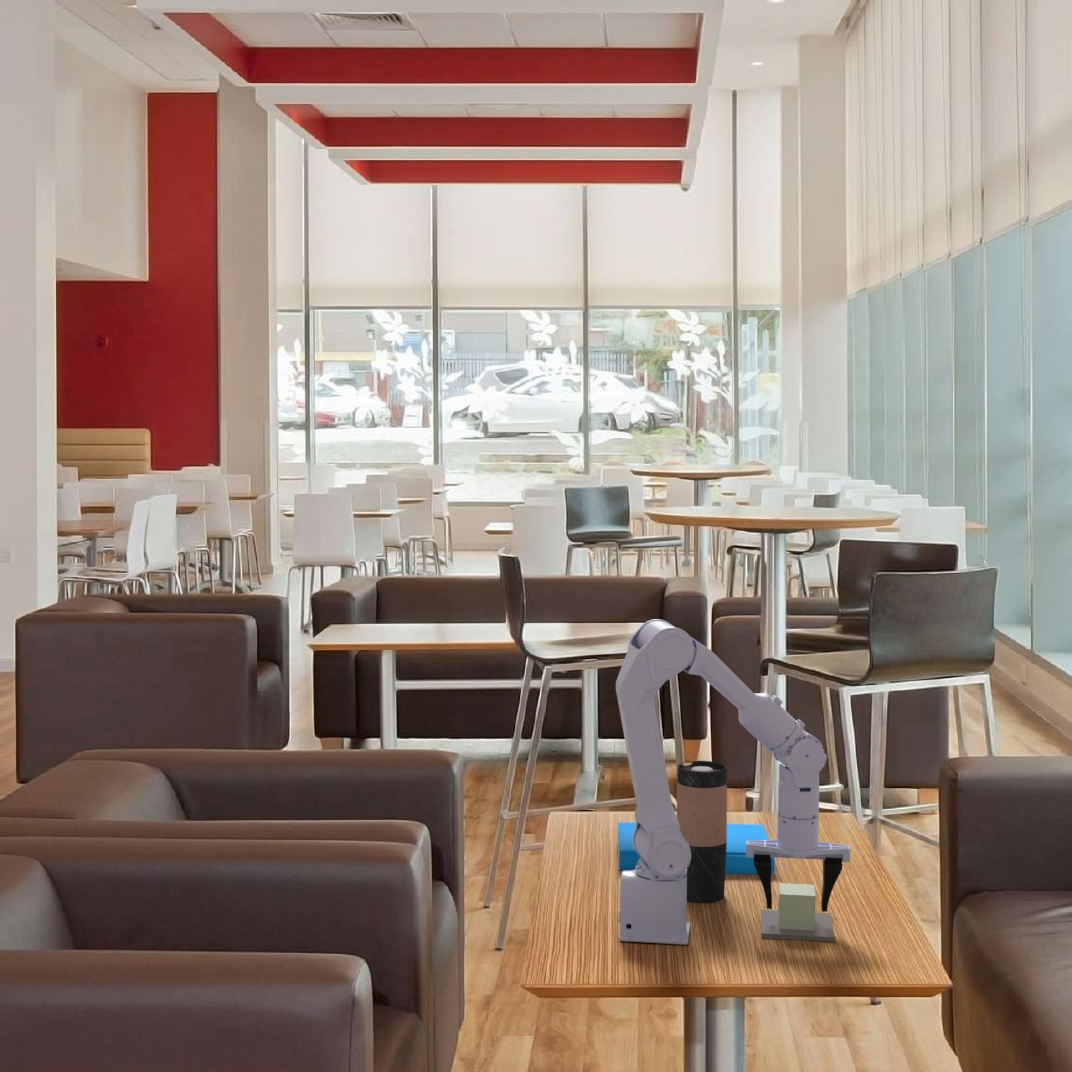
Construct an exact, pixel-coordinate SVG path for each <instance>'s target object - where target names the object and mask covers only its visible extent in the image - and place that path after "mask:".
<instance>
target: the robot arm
mask: <svg viewBox="0 0 1072 1072" xmlns="http://www.w3.org/2000/svg"><path fill="white" fill-rule="evenodd" d="M683 671H684V672H685V673H687V674H689V675H694V676H695V675H696V676H700V677H702V678H703V679H704V680H705V681H706V682H707V683H708V684H709V685H710V686H712V687H713V688H714V689H716V690H717V692H718V693H720V694H721V695H722V697H724V698H725V699H727V700H728V701H729V702H730V703H731V704H732V705H733V706H734V707H736V708H737V711H738V713H737V714H738V722H739V725H741V727H742V726H743V728H744V729H746V730H747V732H748V733H750V735H752V736H753V738H755V739H756V740H757V741H758V742H759V743H761V745H763V746H764V747H765V748H766V749H767V751H769V752H770V753H772V755H773V758H774V759H775V760H776V761H778V762H779V763H780V764H779V765H778V781H777V782H778V783H777V784H778V788H777V789H778V791H777V792H778V793H777V795H778V796H777V804H778V805H777V839H769V840H761V841H746V857H747V858H753V857H754V866H755V868H756V871H757V873H758V874H757V875H758V877H759V879H760V880H759V881H760V882H761V885H762V888H763V892H764V896H765V900H766V910H772V909H773V893H772V892H773V891H772V874H771V857H774V858H777V859H778V858H779V859H780V858H781V859H782V858H783V859H805V860H820V861H821V860H822V890H821V900H820V901H821V902H820V906H821V912H822V913H828V904H829V901H830V898H831V895H832V892H833V889H834V886H835V884H836V882H837V880H838V878H839V876H840V875H841V873H842V871H843V863H851V847H850V844H839V843H830V842H824V841H819V820H820V819H819V817H820V815H819V814H820V772H821V771H822V769H823V768H824V766H825V764H826V763H827V762H826V761H827V760H828V759H827V757H828V755H827V754H826V753H825V749H823V748H824V745H823V744H822V742H821V740H819V739H818V738H817V737H816V736H814V735H813V734H811V733H809V732H807V731H806V730H805V727H806V724H805V723H804V721H802V720H801V719H797V720H796V719H795V718H794V717H793V716H792V715H791V714H790V712H788V711H787V710H785V708H784V707H782V706H781V705H782V704H783V701H782V699H780V698H779V697H778V696H776V695H775V694H773V695H772V696H771V695H770V694H769V693H767V692H760V693H759V692H757V693H756V692H755V693H754V692H753V691H752V690H751V688H749V687H748V686H747V685H746V684H745V683H744V682H743V681H742V680H741V679H740V678H739V676H738V675H736V673H734V672H733V670H731V669H730V668H729V667H728V666H727V665H726V663H724V662H723V661H722V660H721V658H720V657H718V655H717V654H715V653H714V652H713V651H712V650H711V649H709V648H708V647H707V646H705V645H704V644H703V643H701V642H700V641H698V640H697V639H695V638H693V637H691V635H689V633H687V632H686V631H685V630H683V629H681V628H679V627H676V626H674V625H673V624H671V623H670V622H669V621H667V620H664V619H662V618H661V619H659V618H657V619H656V618H655V619H650V620H647V621H645V623H643V624H641V626H640V627H639V628H638V629H637V630H636V631H635V632H634V633H633V634H632V636H630V638H629V640H628V645H627V651H626V654H625V657H624V660H623V662H622V665H621V668H620V670H619V672H618V676H617V678H616V680H615V692H616V698H617V703H618V708H619V714H620V720H621V726H622V732H623V736H624V743H625V747H626V753H627V754H626V755H627V759H628V760H627V761H628V764H629V771H630V776H631V781H632V788H633V792H634V798H635V803H636V804H635V805H636V808H635V811H634V818H635V823H636V828H635V831H634V834H633V846H634V848H635V850H636V852H637V853H638V854H639V855H640V859H639V861H638V863H637V865H636V867H635V870H631V871H622V872H621V876H620V888H619V889H620V890H619V910H618V923H619V941H621V942H629V943H630V942H633V943H648V944H649V943H650V944H651V943H652V944H653V943H654V944H665V945H666V944H668V945H688V944H689V938H690V937H689V936H690V932H691V931H690V929H691V923H690V922H689V921H688V922H687V913H688V912H687V911H688V910H687V905H688V904H687V902H688V901H687V868H688V866H689V864H690V861H691V849H690V846H689V845H688V843H687V842H686V840H685V839H684V838H683V836H682V834H681V831H680V826H679V822H678V820H677V813H676V812H675V809H674V807H673V803H672V797H671V790H670V786H669V780H668V774H667V767H666V762H665V758H664V750H663V746H662V738H661V735H660V734H661V733H660V728H659V723H658V718H657V717H658V716H657V711H656V705H655V700H654V697H655V695H656V694H657V692H658V691H659V690H660V689H661V688H662V686H663V685H665V682H667V681H668V680H670V679H672V678H673V677H675V676H677V675H678V674H679V673H681V672H683Z"/></svg>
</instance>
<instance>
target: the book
mask: <svg viewBox="0 0 1072 1072" xmlns="http://www.w3.org/2000/svg"><path fill="white" fill-rule="evenodd" d="M635 828H636V822H622V821H621V822H617V850H618V851H617V853H618V855H619V857H618V872H619V871H631V870H635V867H636V865H637V863H638V861H639V859H640V855H639V854H638V853H637V852H636V850H635V848H634V846H633V834H634V831H635ZM761 840H770V839H769V837H768V834H767V832H766V829H765V826H764V824H755V823H754V824H745V823H744V824H743V823H742V824H741V823H727V841H726V842H727V845H726V868H725V874H735V875H737V874H738V875H739V874H742V875H744V874H745V875H746V874H747V875H748V874H749V875H751V874H752V875H758V873H757V871H756V868H755V866H754V857H753V858H747V857H746V841H761ZM775 865H776V863H775V857H771V875H775Z"/></svg>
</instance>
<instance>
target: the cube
mask: <svg viewBox="0 0 1072 1072" xmlns="http://www.w3.org/2000/svg"><path fill="white" fill-rule="evenodd" d="M816 896H817V895H816V888H815V884H805V883H804V884H803V883H786V882H785V883H784V882H779V883H778V910H777V911H778V920H779V929H792V930H810V931H815V912H816V903H817V902H816V900H817V899H816Z"/></svg>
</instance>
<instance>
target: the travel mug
mask: <svg viewBox="0 0 1072 1072" xmlns="http://www.w3.org/2000/svg"><path fill="white" fill-rule="evenodd" d="M676 775H677V776H676V777H677V778H676V781H677V783H676V785H677V787H676V791H677V792H676V817H677V820H678V822H679V826H680V831H681V834H682V836H683V838H684V839H685V840H686V842H687V843H688V845H689V846H690V849H691V861H690V864H689V866H688V868H687V902H691V903H700V904H703V903H704V904H705V903H714V902H715V903H716V902H719V901H722V899H724V897H725V891H726V890H725V888H726V887H725V886H726V885H725V884H726V873H725V868H726V845H727V842H726V841H727V824H728V822H727V821H728V819H727V818H728V817H727V815H728V807H727V805H728V804H727V803H728V802H727V801H728V799H727V798H728V796H727V795H728V780H727V779H728V768H727V765H725V764H724V763H720V762H716V761H711V760H695V761H692V762H691V763H690V764H687V765H683V764H682V762H681V763H679V764H678V765H677V774H676Z"/></svg>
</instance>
